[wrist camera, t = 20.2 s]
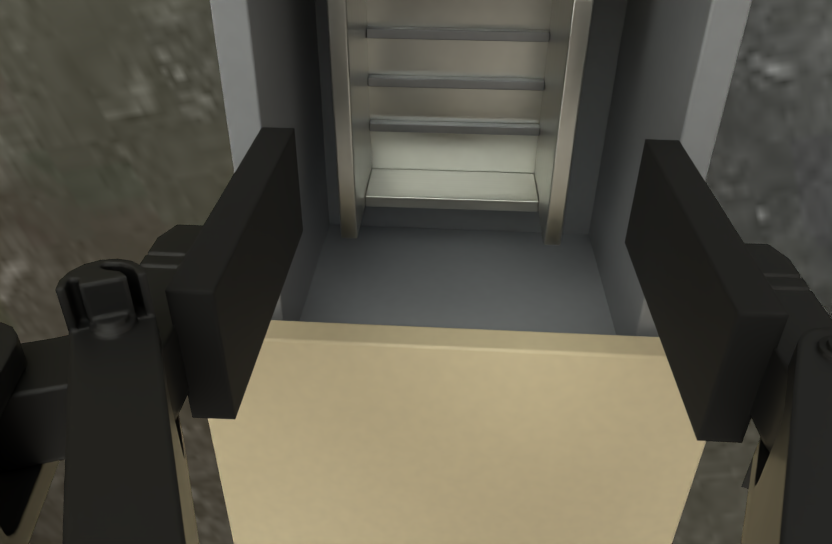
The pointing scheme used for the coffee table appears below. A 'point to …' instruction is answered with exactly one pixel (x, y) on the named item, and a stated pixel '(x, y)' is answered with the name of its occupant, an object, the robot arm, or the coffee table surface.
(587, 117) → the green-front drawer
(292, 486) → the beige box shell
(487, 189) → the rack
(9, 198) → the coffee table surface
